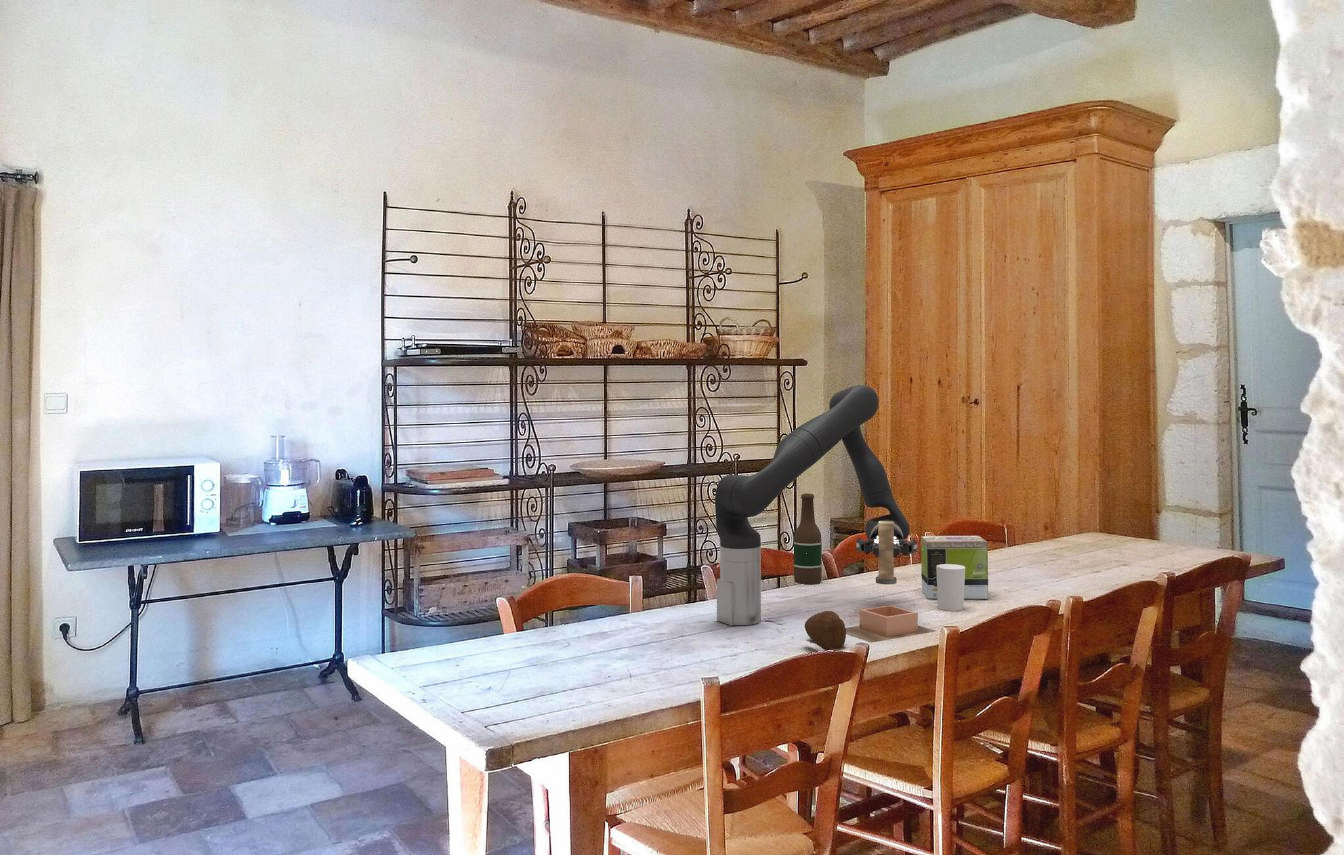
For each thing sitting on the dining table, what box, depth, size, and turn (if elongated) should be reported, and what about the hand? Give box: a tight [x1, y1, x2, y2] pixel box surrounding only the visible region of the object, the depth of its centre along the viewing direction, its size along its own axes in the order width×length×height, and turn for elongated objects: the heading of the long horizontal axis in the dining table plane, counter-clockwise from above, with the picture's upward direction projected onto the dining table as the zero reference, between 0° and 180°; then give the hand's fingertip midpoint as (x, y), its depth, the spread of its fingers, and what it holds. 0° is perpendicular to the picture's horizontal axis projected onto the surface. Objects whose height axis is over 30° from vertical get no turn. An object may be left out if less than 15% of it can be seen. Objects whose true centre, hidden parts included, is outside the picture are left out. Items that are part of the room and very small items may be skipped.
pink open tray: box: [859, 604, 919, 637], centre depth 213 cm, size 9×9×4 cm
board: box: [845, 625, 936, 643], centre depth 212 cm, size 18×12×1 cm, turn 119°
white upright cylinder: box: [936, 564, 965, 612], centre depth 237 cm, size 7×7×10 cm
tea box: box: [920, 535, 989, 600], centre depth 251 cm, size 15×10×15 cm, turn 84°
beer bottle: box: [793, 493, 823, 585], centre depth 270 cm, size 8×8×24 cm
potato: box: [804, 610, 847, 651], centre depth 202 cm, size 7×10×8 cm
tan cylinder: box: [875, 521, 898, 585], centre depth 214 cm, size 4×4×13 cm
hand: (886, 552), depth 211 cm, fingers closed on tan cylinder, 3 cm apart
